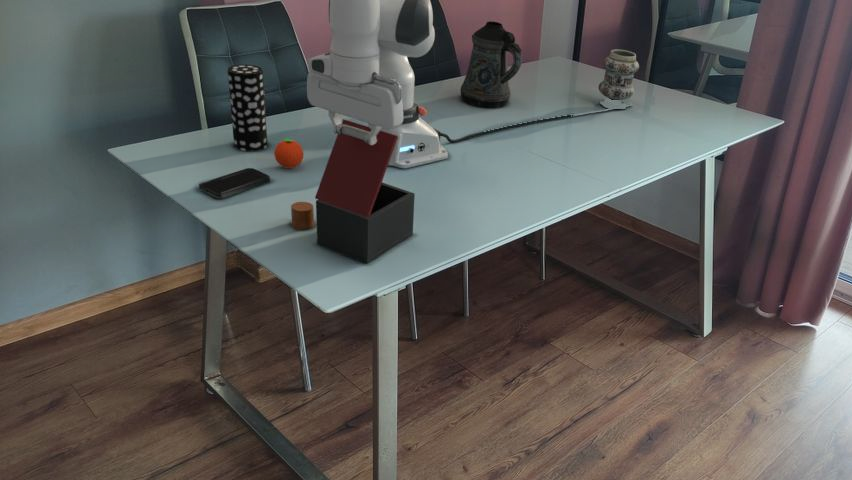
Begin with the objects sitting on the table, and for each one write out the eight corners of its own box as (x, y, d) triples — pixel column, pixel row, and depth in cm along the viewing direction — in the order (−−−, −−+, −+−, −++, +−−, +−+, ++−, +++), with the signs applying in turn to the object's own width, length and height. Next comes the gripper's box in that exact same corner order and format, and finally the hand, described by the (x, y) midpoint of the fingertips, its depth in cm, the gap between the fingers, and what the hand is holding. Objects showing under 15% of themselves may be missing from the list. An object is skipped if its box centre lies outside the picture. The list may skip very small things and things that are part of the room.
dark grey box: (364, 217, 170) (365, 176, 164) (412, 235, 165) (414, 193, 160) (317, 244, 157) (315, 200, 152) (367, 264, 152) (368, 219, 147)
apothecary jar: (633, 113, 254) (643, 59, 244) (597, 109, 253) (606, 55, 244) (628, 101, 264) (638, 49, 255) (594, 98, 264) (603, 46, 254)
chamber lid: (345, 120, 152) (331, 112, 147) (398, 136, 147) (386, 129, 143) (316, 199, 152) (302, 193, 148) (369, 218, 147) (356, 213, 143)
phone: (272, 177, 180) (218, 195, 169) (272, 181, 180) (218, 199, 170) (250, 167, 183) (196, 184, 173) (250, 171, 184) (196, 188, 173)
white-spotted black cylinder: (258, 153, 194) (252, 76, 184) (228, 148, 195) (221, 70, 185) (273, 142, 201) (268, 67, 191) (243, 137, 202) (237, 62, 192)
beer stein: (464, 89, 257) (470, 13, 244) (521, 98, 256) (530, 21, 243) (455, 104, 243) (461, 24, 230) (515, 113, 241) (524, 33, 229)
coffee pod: (309, 218, 167) (309, 200, 164) (316, 227, 163) (316, 209, 161) (289, 221, 164) (288, 203, 162) (295, 231, 161) (295, 212, 159)
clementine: (272, 161, 191) (270, 134, 187) (300, 159, 194) (299, 132, 190) (277, 173, 185) (276, 146, 181) (306, 171, 187) (305, 144, 184)
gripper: (411, 76, 137) (408, 148, 144) (322, 51, 145) (324, 121, 152) (391, 84, 132) (389, 157, 140) (300, 58, 140) (303, 129, 147)
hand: (354, 138), depth 146 cm, fingers closed on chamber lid, 6 cm apart
